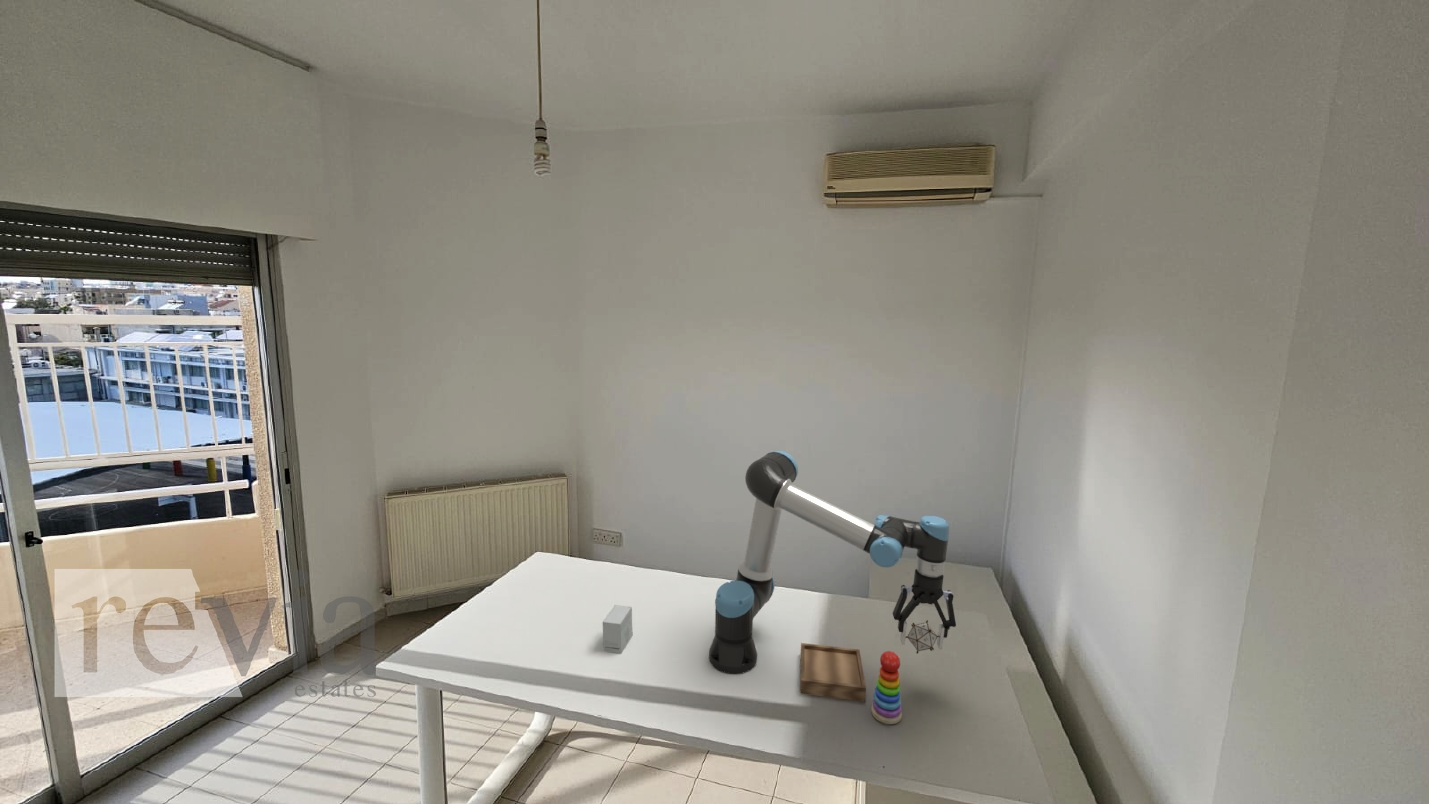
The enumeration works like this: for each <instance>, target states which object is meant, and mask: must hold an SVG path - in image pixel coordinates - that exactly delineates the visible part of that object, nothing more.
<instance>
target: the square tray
mask: <svg viewBox="0 0 1429 804" xmlns="http://www.w3.org/2000/svg"><path fill="white" fill-rule="evenodd" d="M861 656H862V655H861V651H860V649H858V648H848V647H840V646H839V647H838V646H831V645H821V644H813V643H805V642H804V643H803V642H801V644H800V677H799V678H800V680H799V681H800V682H799V683H800V685H799V686H800V687H799V688H800V691H799V692H800V694H801V695H802V694H803V695H808V696H809V695H810V696H819V697H825V698H826V697H827V698H834V699H842V700H850V701H858V702H864V703H865V702H866V694H867V685H866V681H865V675H864V674H865V673H864V668H863V667H864V666H863V663H862V657H861Z"/></svg>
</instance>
